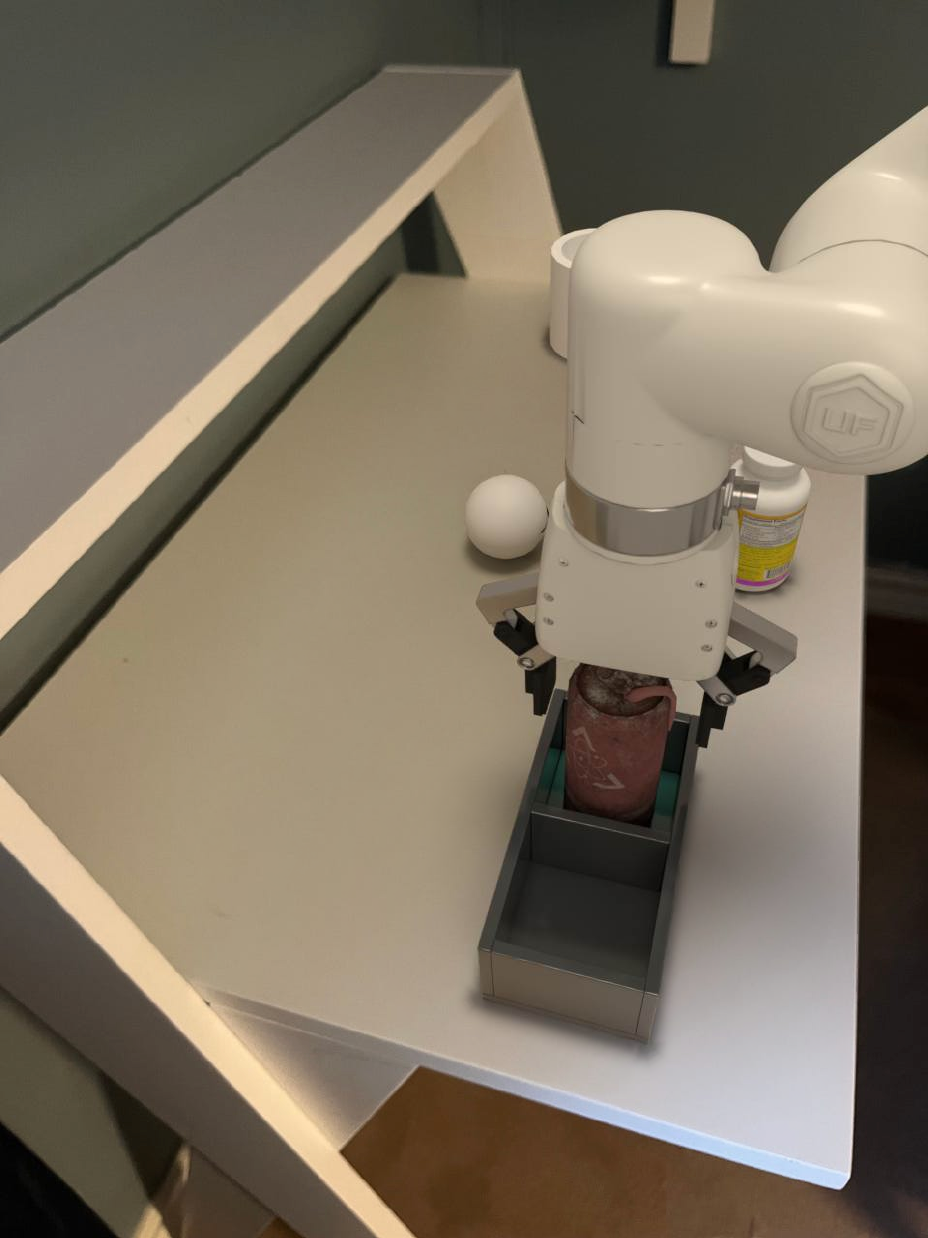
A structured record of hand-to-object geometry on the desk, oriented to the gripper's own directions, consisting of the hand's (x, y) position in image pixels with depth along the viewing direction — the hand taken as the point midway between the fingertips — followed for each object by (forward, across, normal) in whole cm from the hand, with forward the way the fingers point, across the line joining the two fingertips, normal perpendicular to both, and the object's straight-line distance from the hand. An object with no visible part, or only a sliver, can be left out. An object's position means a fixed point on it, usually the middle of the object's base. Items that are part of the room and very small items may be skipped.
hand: (622, 713), depth 58 cm
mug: (+12, +13, -60) cm, 63 cm away
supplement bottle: (+12, -7, -28) cm, 31 cm away
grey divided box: (+12, 0, +5) cm, 13 cm away
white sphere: (+12, +14, -27) cm, 32 cm away
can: (+11, 0, 0) cm, 11 cm away
